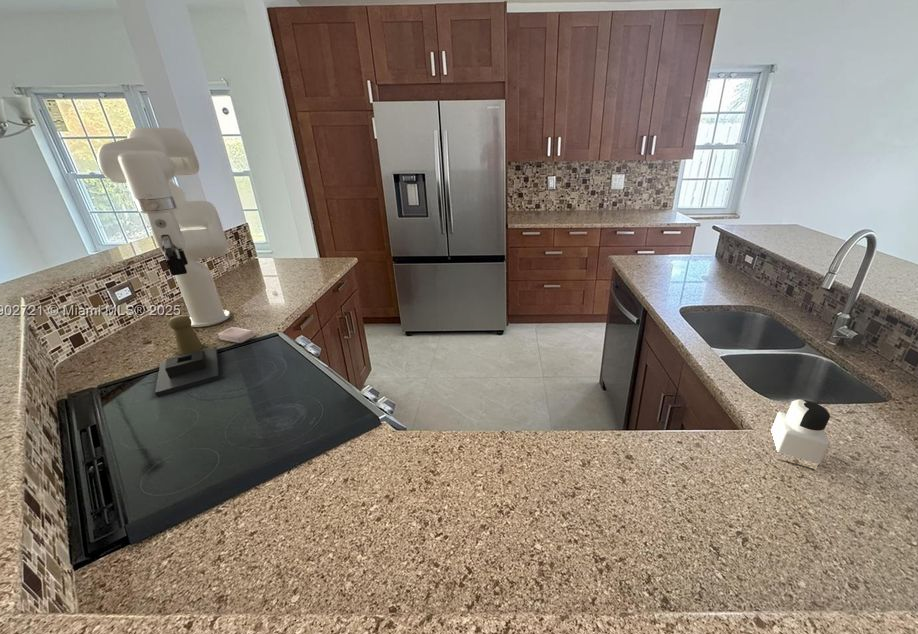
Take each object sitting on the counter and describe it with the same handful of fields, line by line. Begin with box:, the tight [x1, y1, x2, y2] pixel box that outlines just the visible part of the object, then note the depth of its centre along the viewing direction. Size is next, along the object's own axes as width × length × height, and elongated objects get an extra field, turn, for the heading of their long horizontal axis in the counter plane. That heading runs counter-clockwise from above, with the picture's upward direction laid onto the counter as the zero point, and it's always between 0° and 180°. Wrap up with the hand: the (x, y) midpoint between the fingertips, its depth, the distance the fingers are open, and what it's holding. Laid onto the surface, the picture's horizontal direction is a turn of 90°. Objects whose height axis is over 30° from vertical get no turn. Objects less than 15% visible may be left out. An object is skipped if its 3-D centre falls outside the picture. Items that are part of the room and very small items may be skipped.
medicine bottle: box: [770, 399, 831, 465], centre depth 74 cm, size 7×7×12 cm
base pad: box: [154, 347, 221, 397], centre depth 102 cm, size 18×13×3 cm
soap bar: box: [217, 326, 255, 344], centre depth 119 cm, size 5×9×2 cm, turn 73°
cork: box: [168, 314, 204, 355], centre depth 111 cm, size 6×6×11 cm
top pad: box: [165, 349, 206, 378], centre depth 101 cm, size 6×8×3 cm
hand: (180, 269), depth 101 cm, fingers open, 9 cm apart
